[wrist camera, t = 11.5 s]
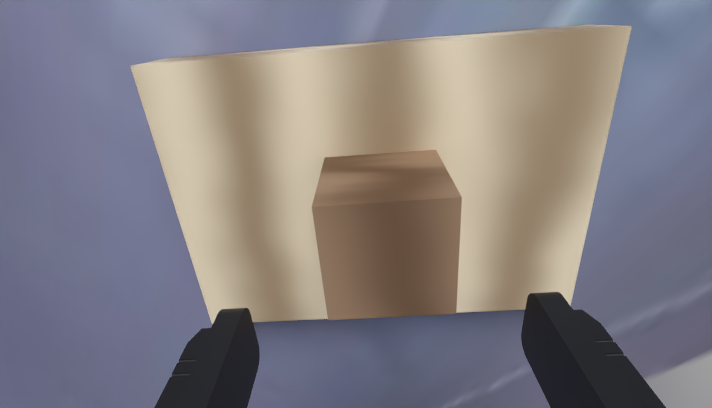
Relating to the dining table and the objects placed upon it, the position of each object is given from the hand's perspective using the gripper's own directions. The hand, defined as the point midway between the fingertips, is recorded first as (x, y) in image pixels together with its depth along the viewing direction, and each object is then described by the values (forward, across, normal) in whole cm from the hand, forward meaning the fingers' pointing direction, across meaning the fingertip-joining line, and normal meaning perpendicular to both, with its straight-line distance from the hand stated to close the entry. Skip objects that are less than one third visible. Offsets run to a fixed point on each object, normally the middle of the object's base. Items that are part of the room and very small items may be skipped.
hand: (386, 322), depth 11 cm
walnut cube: (+8, 0, 0) cm, 8 cm away
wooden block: (+11, 0, 0) cm, 11 cm away
